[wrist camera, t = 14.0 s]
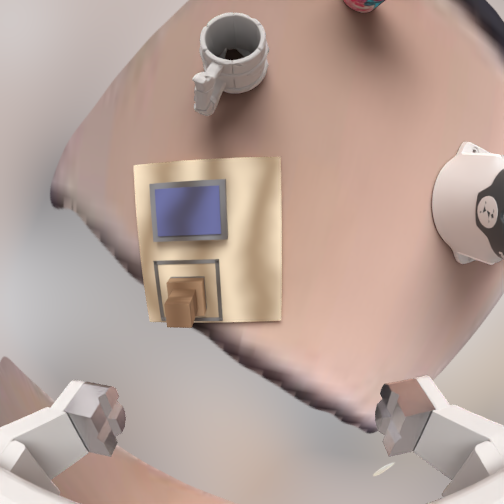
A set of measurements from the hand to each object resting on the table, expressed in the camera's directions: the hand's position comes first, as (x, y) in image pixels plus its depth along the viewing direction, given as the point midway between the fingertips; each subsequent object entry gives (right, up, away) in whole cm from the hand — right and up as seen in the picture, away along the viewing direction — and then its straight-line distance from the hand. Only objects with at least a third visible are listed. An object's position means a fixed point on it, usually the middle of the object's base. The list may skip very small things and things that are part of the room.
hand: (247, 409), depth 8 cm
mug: (-3, +26, +26) cm, 36 cm away
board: (-5, +6, +30) cm, 31 cm away
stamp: (-8, -1, +31) cm, 32 cm away
